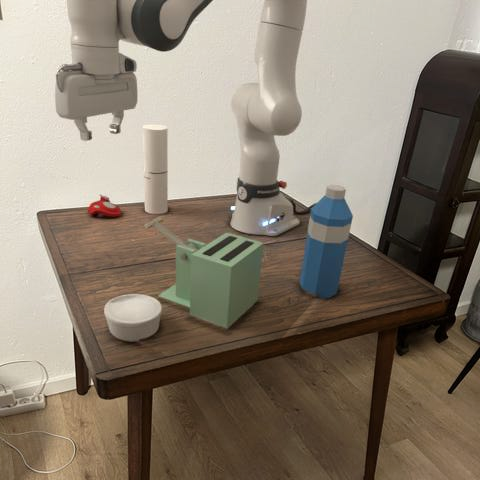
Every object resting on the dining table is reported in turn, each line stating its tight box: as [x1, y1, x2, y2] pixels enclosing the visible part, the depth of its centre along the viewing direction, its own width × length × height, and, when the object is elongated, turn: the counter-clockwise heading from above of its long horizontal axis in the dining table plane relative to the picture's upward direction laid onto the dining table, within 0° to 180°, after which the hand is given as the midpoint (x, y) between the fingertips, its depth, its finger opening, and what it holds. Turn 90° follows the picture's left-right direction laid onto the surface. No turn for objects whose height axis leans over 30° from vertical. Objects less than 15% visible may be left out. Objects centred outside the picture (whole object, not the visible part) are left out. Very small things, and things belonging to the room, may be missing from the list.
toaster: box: [188, 232, 265, 330], centre depth 104 cm, size 9×14×15 cm, turn 152°
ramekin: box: [103, 293, 163, 343], centre depth 98 cm, size 11×11×5 cm
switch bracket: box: [157, 238, 207, 309], centre depth 108 cm, size 11×9×13 cm
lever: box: [143, 216, 199, 251], centre depth 106 cm, size 12×5×2 cm, turn 62°
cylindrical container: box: [141, 123, 169, 215], centre depth 149 cm, size 7×7×25 cm
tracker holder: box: [87, 194, 122, 218], centre depth 150 cm, size 12×4×10 cm
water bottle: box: [298, 184, 354, 299], centre depth 113 cm, size 9×9×25 cm
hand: (101, 136), depth 103 cm, fingers open, 7 cm apart
